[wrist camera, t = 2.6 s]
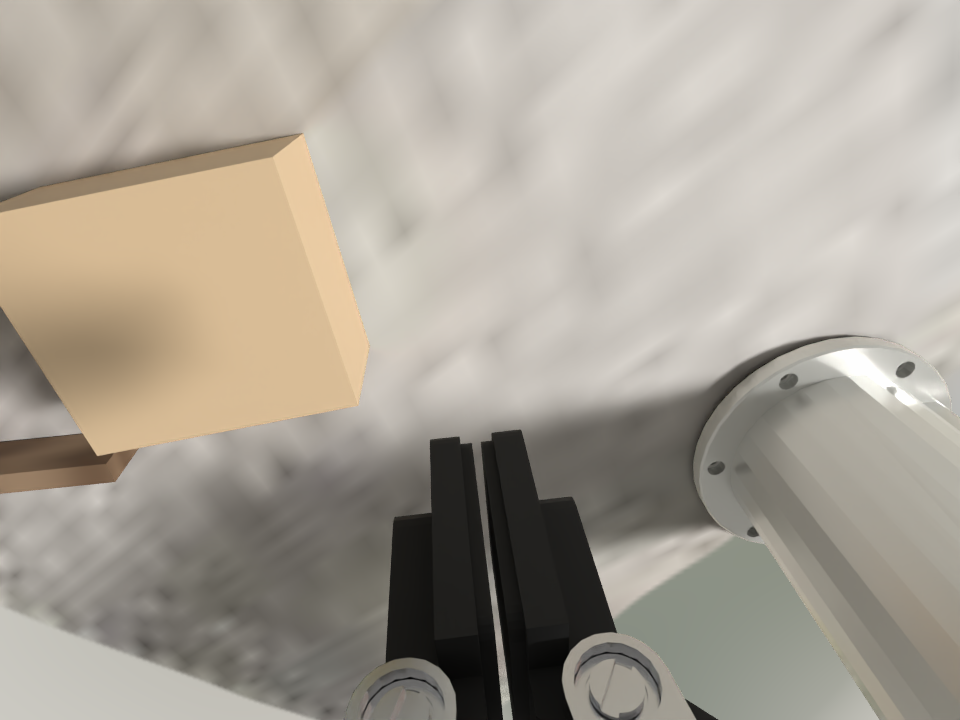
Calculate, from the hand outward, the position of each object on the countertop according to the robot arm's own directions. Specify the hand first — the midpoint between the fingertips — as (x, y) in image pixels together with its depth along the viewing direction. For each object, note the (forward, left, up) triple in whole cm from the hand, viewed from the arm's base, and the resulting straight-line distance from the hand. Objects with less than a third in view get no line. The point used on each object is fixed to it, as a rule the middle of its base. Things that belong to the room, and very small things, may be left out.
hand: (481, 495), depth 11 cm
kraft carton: (+10, 0, -15) cm, 18 cm away
